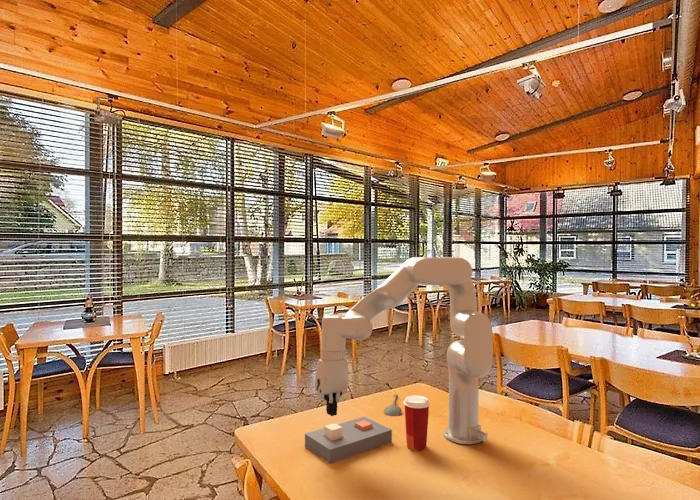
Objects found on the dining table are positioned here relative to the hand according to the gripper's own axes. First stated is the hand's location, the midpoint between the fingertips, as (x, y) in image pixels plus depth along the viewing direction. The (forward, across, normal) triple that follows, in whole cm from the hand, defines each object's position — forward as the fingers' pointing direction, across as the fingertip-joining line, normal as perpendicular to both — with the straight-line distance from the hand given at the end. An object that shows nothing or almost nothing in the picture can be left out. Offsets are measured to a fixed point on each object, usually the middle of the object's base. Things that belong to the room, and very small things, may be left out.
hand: (331, 414), depth 136 cm
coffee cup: (+10, -23, +14) cm, 29 cm away
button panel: (+11, -7, 0) cm, 13 cm away
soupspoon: (+11, -42, -17) cm, 46 cm away
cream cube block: (+8, -1, 0) cm, 8 cm away
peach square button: (+10, -13, 0) cm, 16 cm away
